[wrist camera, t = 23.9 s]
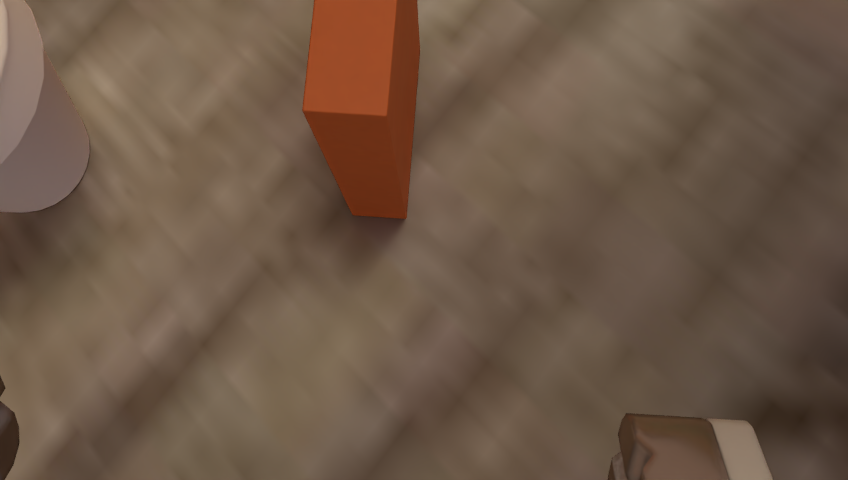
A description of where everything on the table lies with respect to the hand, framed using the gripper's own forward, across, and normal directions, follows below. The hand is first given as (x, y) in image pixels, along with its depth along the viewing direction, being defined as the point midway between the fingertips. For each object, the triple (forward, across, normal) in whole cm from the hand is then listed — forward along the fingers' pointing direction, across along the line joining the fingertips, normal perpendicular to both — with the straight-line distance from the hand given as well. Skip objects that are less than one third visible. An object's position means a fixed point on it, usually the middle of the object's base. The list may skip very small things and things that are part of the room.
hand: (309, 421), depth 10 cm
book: (+33, +2, +12) cm, 35 cm away
